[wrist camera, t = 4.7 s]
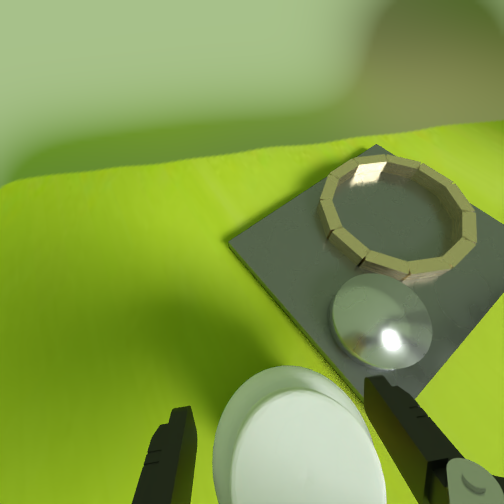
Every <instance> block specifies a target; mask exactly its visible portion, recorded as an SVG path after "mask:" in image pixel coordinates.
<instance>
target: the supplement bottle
mask: <svg viewBox="0 0 504 504" xmlns="http://www.w3.org/2000/svg"><path fill="white" fill-rule="evenodd" d="M212 463H213V479H214V485H215V490H216V495H217V499H218V502H219V504H387V502H386V487H385V481H384V476H383V472H382V468H381V464H380V461H379V458H378V455H377V453H376V450H375V448H374V445H373V442H372V439H371V436H370V433H369V430H368V428H367V426H366V424H365V422H364V420H363V418H362V416H361V414H360V412H359V411H358V409H357V408H356V406H355V405H354V403H353V402H352V401H351V399H350V398H349V397H348V396H347V395H346V394H345V393H344V391H343V390H342V389H341V388H339V387H338V386H337V385H336V384H335V383H334V382H332V381H331V380H330V379H328V378H326V377H325V376H323V375H321V374H320V373H317V372H315V371H313V370H310V369H307V368H303V367H299V366H277V367H273V368H269V369H266V370H263V371H261V372H259V373H257V374H255V375H254V376H252V377H251V378H249V379H248V380H247V381H246V382H244V383H243V384H242V385H241V386H240V387H239V388H238V389H237V391H236V392H235V393H234V394H233V396H232V397H231V399H230V400H229V402H228V403H227V405H226V407H225V409H224V411H223V413H222V416H221V418H220V421H219V424H218V427H217V431H216V435H215V440H214V446H213V462H212Z"/></svg>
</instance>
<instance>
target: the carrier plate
mask: <svg viewBox="0 0 504 504" xmlns="http://www.w3.org/2000/svg"><path fill="white" fill-rule="evenodd" d="M420 163H421V162H418V161H414V160H409V159H405V158H401V157H397V156H395V155H393V154H392V153H390V152H388V151H387V150H385V149H384V148H382V147H381V146H379V145H377V144H376V145H374V146H373V147H371V148H370V149H368V150H367V151H365V152H364V153H362V154H360V155H359V156H357V157H355V158H353V159H350V160H349V161H347V162H345V163H344V164H342V165H341V166H339V167H338V168H336V169H335V170H333V171H332V172H330V173H329V174H328V176H327V177H326V178H324V179H323V180H321V181H320V182H318V183H316V184H315V185H313V186H312V187H310V188H309V189H307V190H306V191H304V192H303V193H301V194H300V195H298V196H297V197H295V198H294V199H292V200H291V201H289V202H288V203H286V204H285V205H283V206H282V207H280V208H279V209H277V210H276V211H274V212H273V213H271V214H269V215H268V216H266V217H265V218H263V219H262V220H260V221H259V222H257V223H256V224H254V225H253V226H251V227H250V228H248V229H247V230H245V231H244V232H242V233H241V234H239V235H238V236H236V237H235V238H233V239H232V240H230V241H229V242H228V243H229V248H230V249H231V250H232V251H233V252H234V254H235V255H236V256H237V257H238V258H239V259H240V261H241V262H242V263H243V264H244V265H245V266H246V268H247V269H248V270H249V271H250V272H251V273H252V275H253V276H254V277H255V278H256V279H257V280H258V282H259V283H260V284H261V285H262V286H263V287H264V289H265V290H266V291H267V292H268V293H269V294H270V296H271V297H272V298H273V299H274V300H275V301H276V303H277V304H278V305H279V306H280V307H281V308H282V310H283V311H284V312H285V313H286V314H287V315H288V317H289V318H290V319H291V320H292V321H293V322H294V324H295V325H296V326H297V327H298V328H299V329H300V331H301V332H302V333H303V334H304V335H305V336H306V337H307V339H308V340H309V341H310V342H311V343H312V344H313V346H314V347H315V348H316V349H317V350H318V351H319V353H320V354H321V355H322V356H323V357H324V358H325V360H326V361H327V362H328V363H329V364H330V365H331V367H332V368H333V369H334V370H335V371H336V372H337V374H338V375H339V376H340V377H341V378H342V379H343V381H344V382H345V383H346V384H347V385H348V386H349V388H350V389H351V390H352V391H353V392H354V393H355V395H356V396H357V397H358V398H359V399H360V400H361V402H362V403H363V404H364V379H365V377H370V376H377V375H383V376H384V377H385V378H386V379H387V381H388V382H389V383H390V384H391V386H399V387H400V388H402V389H403V390H405V391H406V392H407V393H409V394H410V395H411V396H412V397H413V398H414V399H415V398H416V397H417V396H418V395H419V393H420V392H421V391H422V390H423V389H424V387H425V386H426V385H427V384H428V383H429V381H430V380H431V379H432V378H433V377H434V375H435V374H436V373H437V372H438V371H439V369H440V368H441V367H442V366H443V365H444V363H445V362H446V361H447V360H448V359H449V357H450V356H451V355H452V354H453V353H454V351H455V350H456V349H457V348H458V347H459V345H460V344H461V343H462V342H463V341H464V339H465V338H466V337H467V336H468V335H469V333H470V332H471V331H472V330H473V329H474V327H475V326H476V325H477V324H478V323H479V321H480V320H481V319H482V318H483V317H484V315H485V314H486V313H487V312H488V311H489V309H490V308H491V307H492V306H493V305H494V303H495V302H496V301H497V300H498V299H499V297H500V296H501V295H502V294H503V293H504V225H503V224H502V223H500V222H499V221H497V220H496V219H494V218H492V217H491V216H489V215H488V214H486V213H485V212H483V211H481V210H480V209H478V208H477V207H475V206H473V205H472V204H470V203H469V202H468V200H467V199H466V198H465V196H464V195H463V193H462V192H461V191H460V189H459V188H458V187H457V185H456V184H452V183H453V181H451V180H450V179H448V178H446V177H445V176H443V175H441V174H440V173H438V172H437V171H435V170H433V169H432V168H430V167H428V166H427V165H425V164H424V163H422V164H421V165H420Z"/></svg>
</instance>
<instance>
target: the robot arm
mask: <svg viewBox="0 0 504 504" xmlns="http://www.w3.org/2000/svg"><path fill="white" fill-rule="evenodd" d="M364 408H365V411H366V414H367V416H368V418H369V420H370V422H371V423H372V425H373V427H374V429H375V430H376V432H377V434H378V435H379V437H380V439H381V440H382V442H383V444H384V446H385V447H386V449H387V451H388V452H389V454H390V456H391V457H392V459H393V461H394V463H395V464H396V466H397V468H398V469H399V471H400V473H401V474H402V476H403V478H404V480H405V481H406V483H407V485H408V486H409V488H410V490H411V491H412V493H413V495H414V497H415V498H416V500H417V502H418V503H419V504H504V478H503V477H498V476H494V475H491V474H490V473H489V472H488V471H487V470H485V469H484V468H483V467H481V466H480V465H478V464H476V463H475V462H472V461H470V460H467V459H465V458H464V457H463V456H462V455H461V454H460V452H459V451H458V450H457V449H456V448H455V447H454V445H453V444H452V443H451V442H450V441H449V440H448V438H447V437H446V436H445V435H444V434H443V432H442V431H441V430H440V429H439V428H438V427H437V425H436V424H435V423H434V422H433V421H432V420H431V418H430V417H428V415H427V414H426V412H425V411H424V410H423V409H422V408H420V405H419V404H418V403H417V402H416V401H415V400H414V398H413V397H412V396H411V395H410V394H409V393H407V392H406V391H405V390H403V389H402V388H400V387H399V386H391V384H390V383H389V382H388V381H387V379H386V378H385V377H384V376H383V375H377V376H370V377H365V379H364ZM196 452H197V431H196V426H195V422H194V418H193V413H192V409H191V406H185V407H179V408H173V409H172V412H171V415H170V419H169V423H168V424H162V425H160V426H159V428H158V429H157V431H156V432H155V434H154V435H153V437H152V439H151V442H150V445H149V448H148V454H147V455H146V458H145V462H144V467H143V468H142V472H141V475H140V478H139V482H138V485H137V488H136V492H135V495H134V498H133V501H132V504H190V502H191V493H192V485H193V477H194V468H195V460H196Z"/></svg>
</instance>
